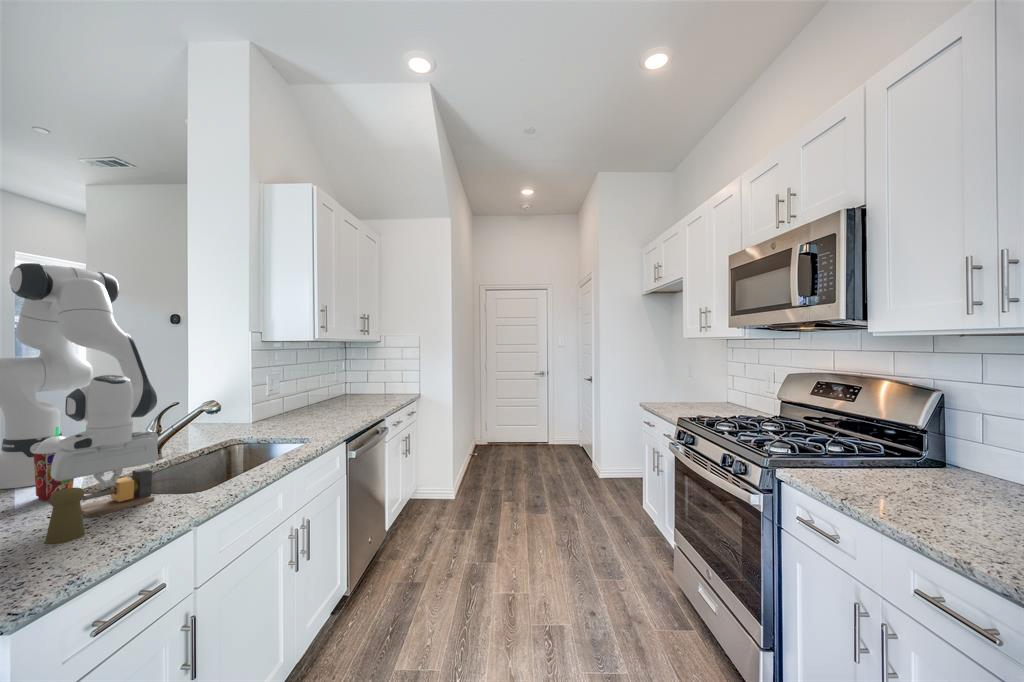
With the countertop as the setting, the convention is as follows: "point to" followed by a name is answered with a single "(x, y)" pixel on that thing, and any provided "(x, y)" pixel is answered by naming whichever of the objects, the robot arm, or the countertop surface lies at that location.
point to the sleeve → (123, 489)
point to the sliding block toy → (109, 505)
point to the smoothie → (48, 468)
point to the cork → (65, 516)
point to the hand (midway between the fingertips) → (107, 487)
